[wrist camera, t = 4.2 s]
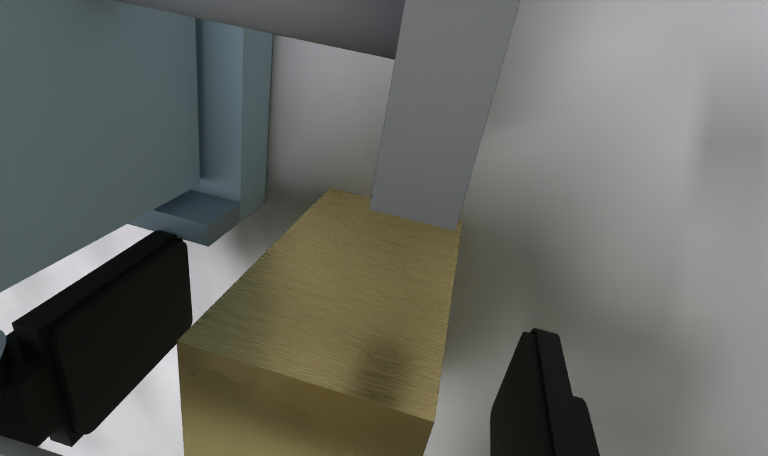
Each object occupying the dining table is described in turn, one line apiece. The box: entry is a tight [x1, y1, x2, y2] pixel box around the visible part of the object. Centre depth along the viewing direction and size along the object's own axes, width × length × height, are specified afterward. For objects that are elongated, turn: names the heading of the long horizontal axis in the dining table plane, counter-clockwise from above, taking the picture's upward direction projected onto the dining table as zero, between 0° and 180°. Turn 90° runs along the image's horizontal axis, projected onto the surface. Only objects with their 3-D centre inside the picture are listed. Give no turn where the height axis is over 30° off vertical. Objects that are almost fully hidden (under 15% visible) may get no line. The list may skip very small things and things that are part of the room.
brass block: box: [177, 188, 463, 456], centre depth 11 cm, size 4×6×7 cm, turn 170°
